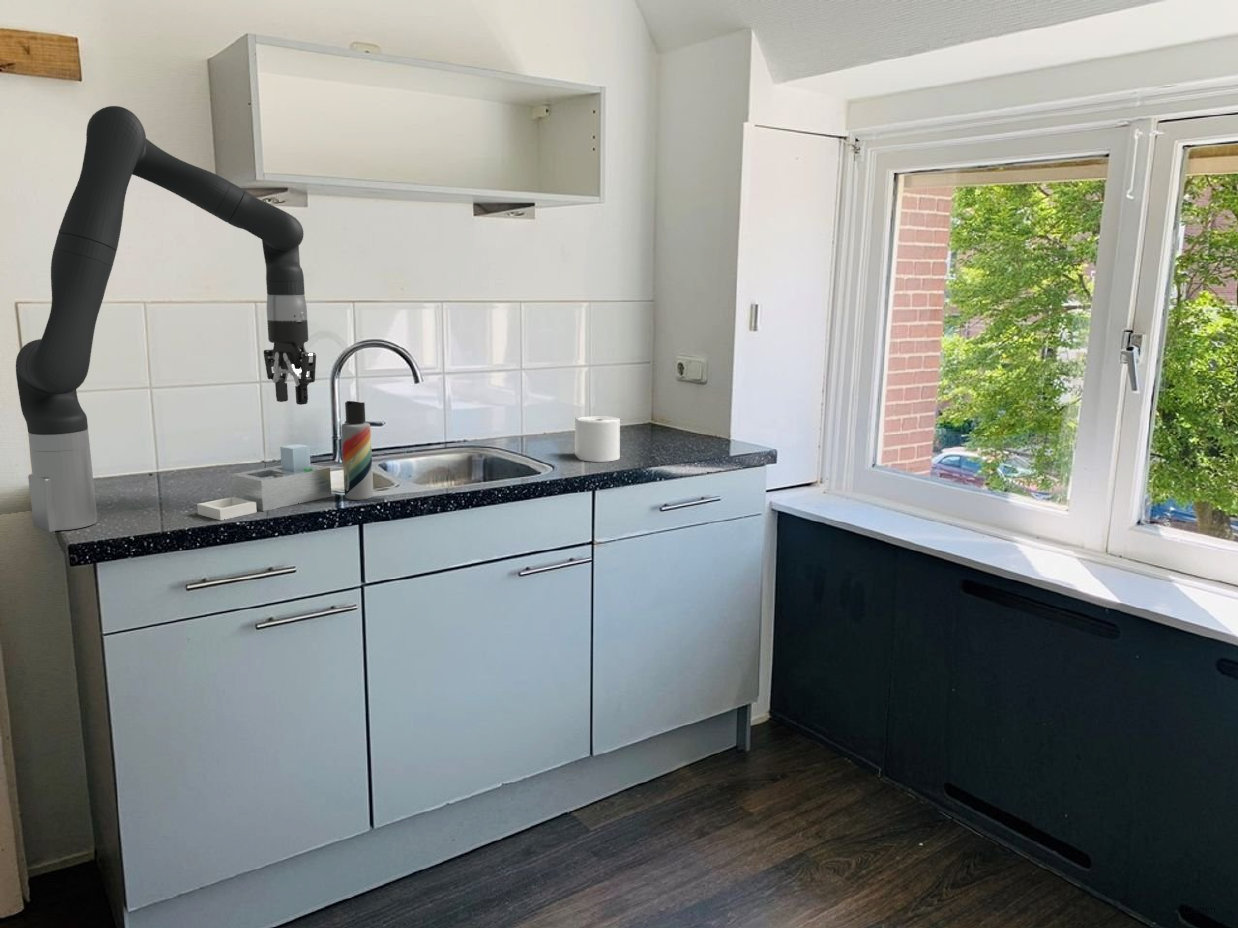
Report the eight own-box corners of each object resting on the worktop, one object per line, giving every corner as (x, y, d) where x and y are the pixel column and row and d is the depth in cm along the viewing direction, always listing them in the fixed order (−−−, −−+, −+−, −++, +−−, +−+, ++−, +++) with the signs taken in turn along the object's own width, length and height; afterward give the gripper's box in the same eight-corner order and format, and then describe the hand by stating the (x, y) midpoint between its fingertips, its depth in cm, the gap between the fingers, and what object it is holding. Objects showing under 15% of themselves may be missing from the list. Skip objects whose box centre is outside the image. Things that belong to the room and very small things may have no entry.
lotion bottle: (338, 497, 194) (333, 400, 190) (359, 492, 198) (355, 397, 194) (358, 501, 191) (354, 403, 187) (379, 496, 195) (375, 399, 191)
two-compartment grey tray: (263, 511, 182) (261, 478, 181) (232, 503, 188) (230, 472, 186) (331, 496, 195) (329, 465, 194) (301, 489, 201) (299, 460, 199)
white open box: (220, 520, 175) (219, 509, 175) (197, 514, 179) (197, 504, 179) (256, 512, 181) (255, 502, 181) (233, 506, 185) (233, 496, 185)
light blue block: (295, 492, 191) (292, 448, 189) (283, 490, 193) (280, 446, 192) (311, 489, 194) (309, 446, 193) (299, 486, 197) (297, 444, 195)
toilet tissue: (617, 463, 232) (617, 422, 231) (568, 461, 234) (568, 421, 232) (622, 455, 243) (622, 416, 241) (576, 453, 244) (576, 415, 242)
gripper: (248, 317, 188) (254, 401, 191) (293, 320, 180) (298, 408, 183) (281, 316, 194) (286, 398, 197) (326, 318, 186) (330, 404, 189)
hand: (292, 402), depth 190 cm, fingers open, 5 cm apart
